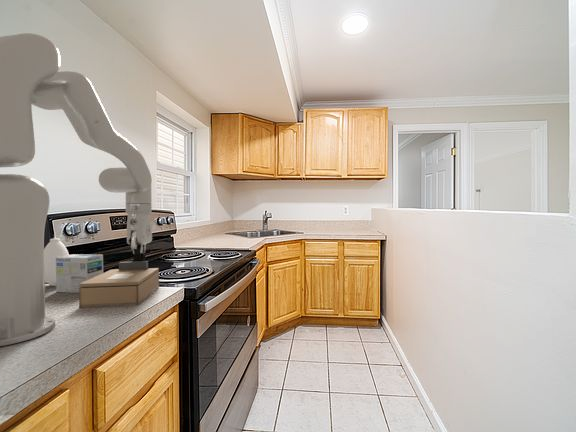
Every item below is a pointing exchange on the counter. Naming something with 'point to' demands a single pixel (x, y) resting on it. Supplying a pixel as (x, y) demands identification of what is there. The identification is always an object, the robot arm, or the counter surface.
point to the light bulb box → (76, 271)
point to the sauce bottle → (53, 258)
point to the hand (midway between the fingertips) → (139, 265)
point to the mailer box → (117, 294)
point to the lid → (122, 275)
